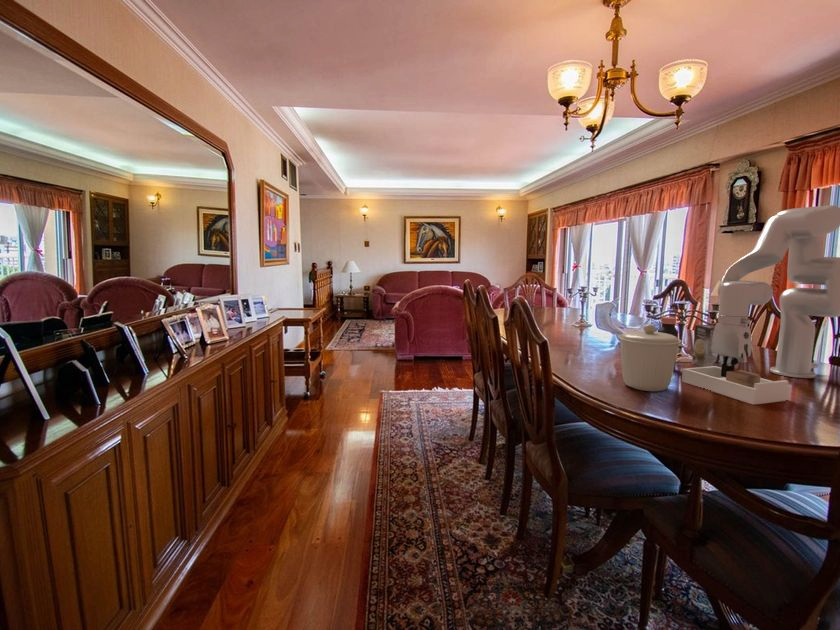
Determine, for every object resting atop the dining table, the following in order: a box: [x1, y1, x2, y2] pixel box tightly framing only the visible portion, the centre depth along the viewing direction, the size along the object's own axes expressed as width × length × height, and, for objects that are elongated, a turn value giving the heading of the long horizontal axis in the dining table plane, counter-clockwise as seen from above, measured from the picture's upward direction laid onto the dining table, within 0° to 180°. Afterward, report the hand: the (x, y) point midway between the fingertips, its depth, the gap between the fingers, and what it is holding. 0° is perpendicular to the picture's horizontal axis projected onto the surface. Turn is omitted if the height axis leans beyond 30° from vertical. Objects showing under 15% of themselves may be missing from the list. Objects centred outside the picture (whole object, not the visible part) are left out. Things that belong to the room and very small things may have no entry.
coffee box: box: [691, 324, 722, 368], centre depth 162 cm, size 9×6×16 cm
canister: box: [617, 323, 683, 392], centre depth 135 cm, size 18×18×21 cm
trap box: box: [681, 366, 791, 405], centre depth 133 cm, size 14×24×6 cm, turn 15°
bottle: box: [657, 316, 679, 372], centre depth 158 cm, size 7×7×20 cm
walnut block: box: [726, 369, 762, 387], centre depth 129 cm, size 6×6×4 cm
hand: (726, 376), depth 134 cm, fingers closed
